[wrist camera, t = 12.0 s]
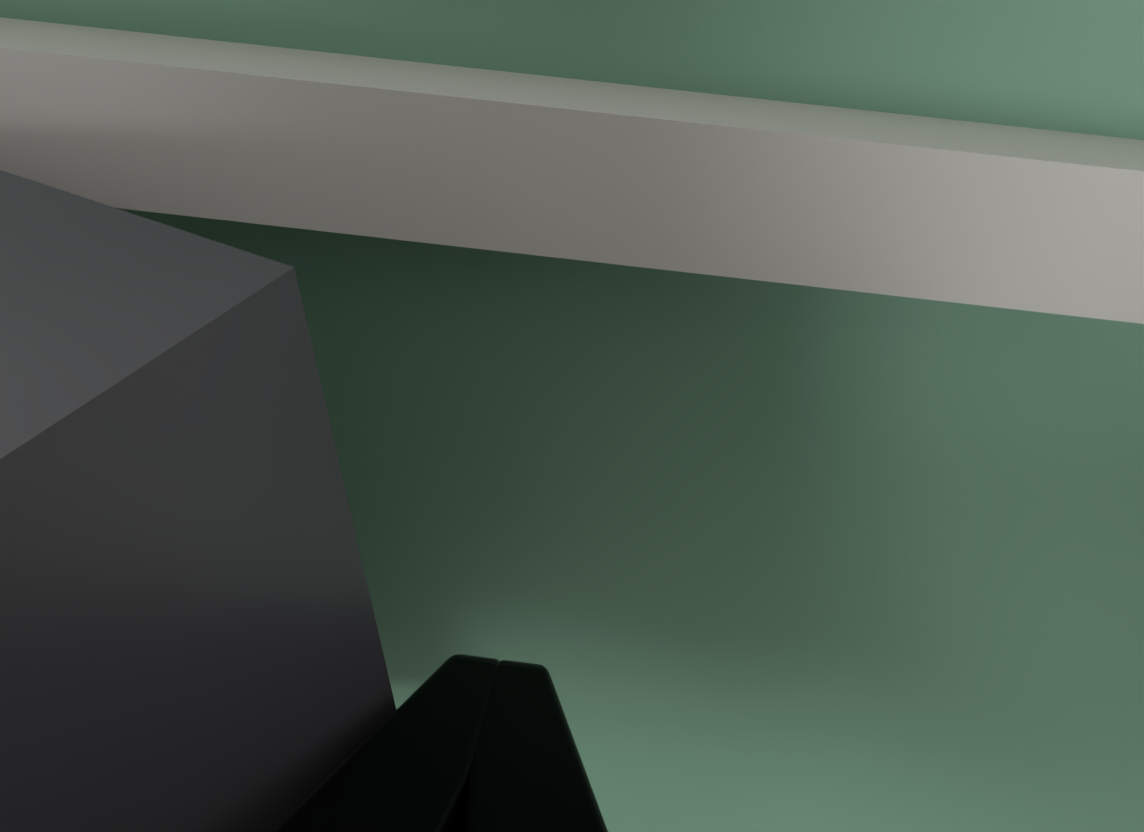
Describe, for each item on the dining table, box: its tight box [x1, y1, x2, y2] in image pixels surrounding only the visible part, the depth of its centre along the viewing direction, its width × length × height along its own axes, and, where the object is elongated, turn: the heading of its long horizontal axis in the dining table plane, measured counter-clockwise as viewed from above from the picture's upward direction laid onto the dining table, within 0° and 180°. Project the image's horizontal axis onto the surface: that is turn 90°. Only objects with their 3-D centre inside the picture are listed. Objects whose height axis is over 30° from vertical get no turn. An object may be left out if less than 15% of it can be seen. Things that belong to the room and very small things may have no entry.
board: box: [0, 0, 1144, 832], centre depth 8 cm, size 20×14×5 cm
